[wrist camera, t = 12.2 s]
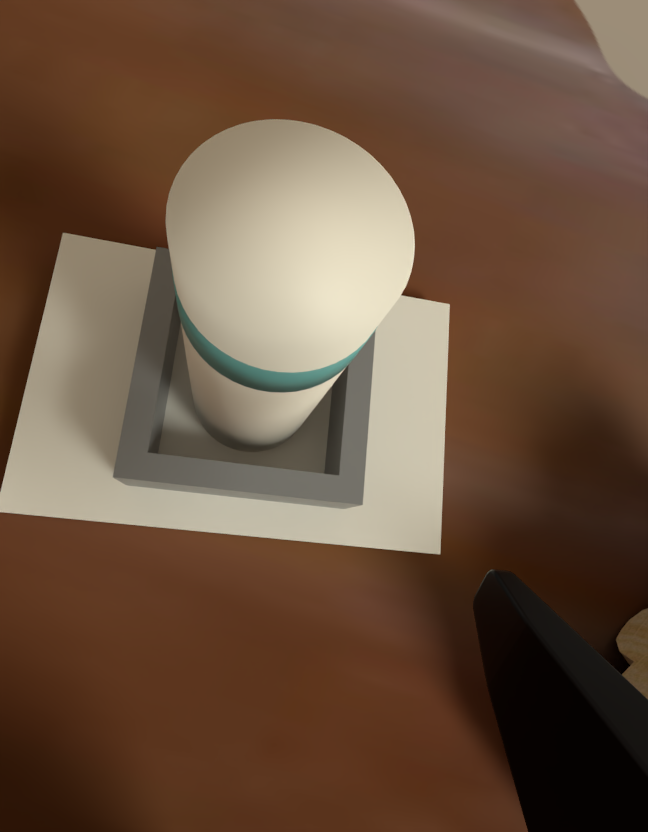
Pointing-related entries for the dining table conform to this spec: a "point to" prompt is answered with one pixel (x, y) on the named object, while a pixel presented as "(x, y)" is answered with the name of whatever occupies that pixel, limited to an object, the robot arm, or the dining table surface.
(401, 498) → the jig
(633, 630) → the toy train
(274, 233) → the teal-banded cream cylinder
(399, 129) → the dining table surface
